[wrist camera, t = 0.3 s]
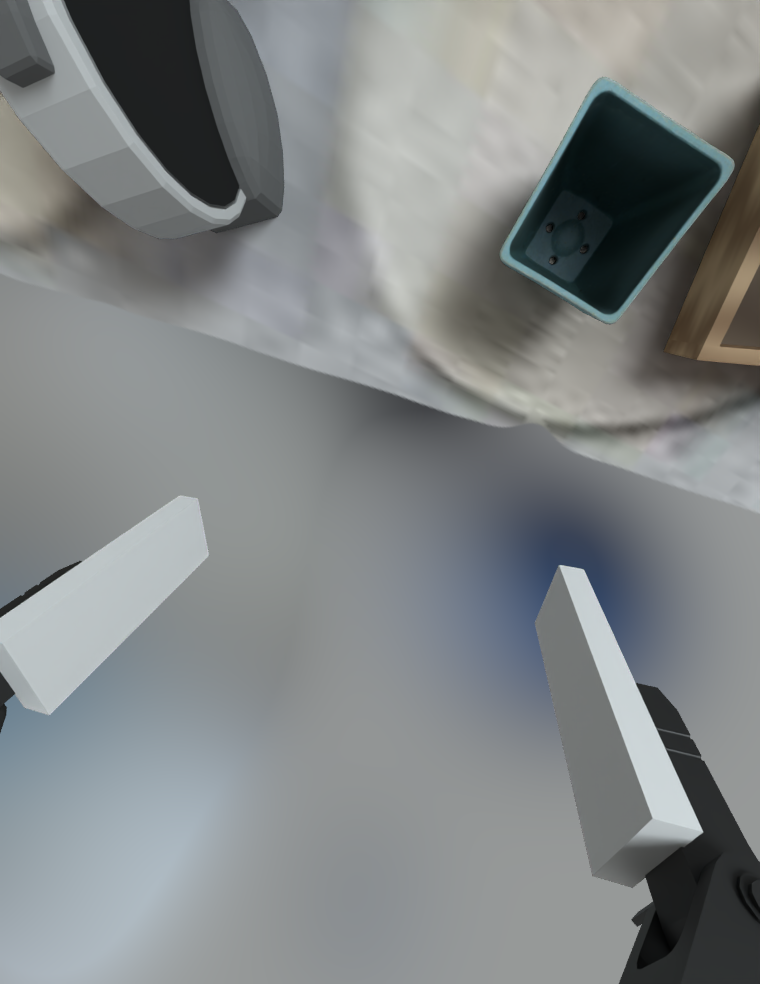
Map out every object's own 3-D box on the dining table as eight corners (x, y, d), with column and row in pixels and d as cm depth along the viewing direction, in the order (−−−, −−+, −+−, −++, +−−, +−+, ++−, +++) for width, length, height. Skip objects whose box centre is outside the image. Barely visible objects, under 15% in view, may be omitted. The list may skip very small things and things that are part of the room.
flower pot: (660, 204, 26) (743, 161, 18) (574, 321, 31) (613, 328, 23) (558, 140, 26) (600, 69, 18) (486, 269, 30) (495, 257, 22)
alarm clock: (302, 236, 32) (144, 170, 16) (205, 260, 34) (-14, 223, 18) (244, -44, 25) (-144, -663, 9) (128, 12, 27) (-336, -391, 11)
